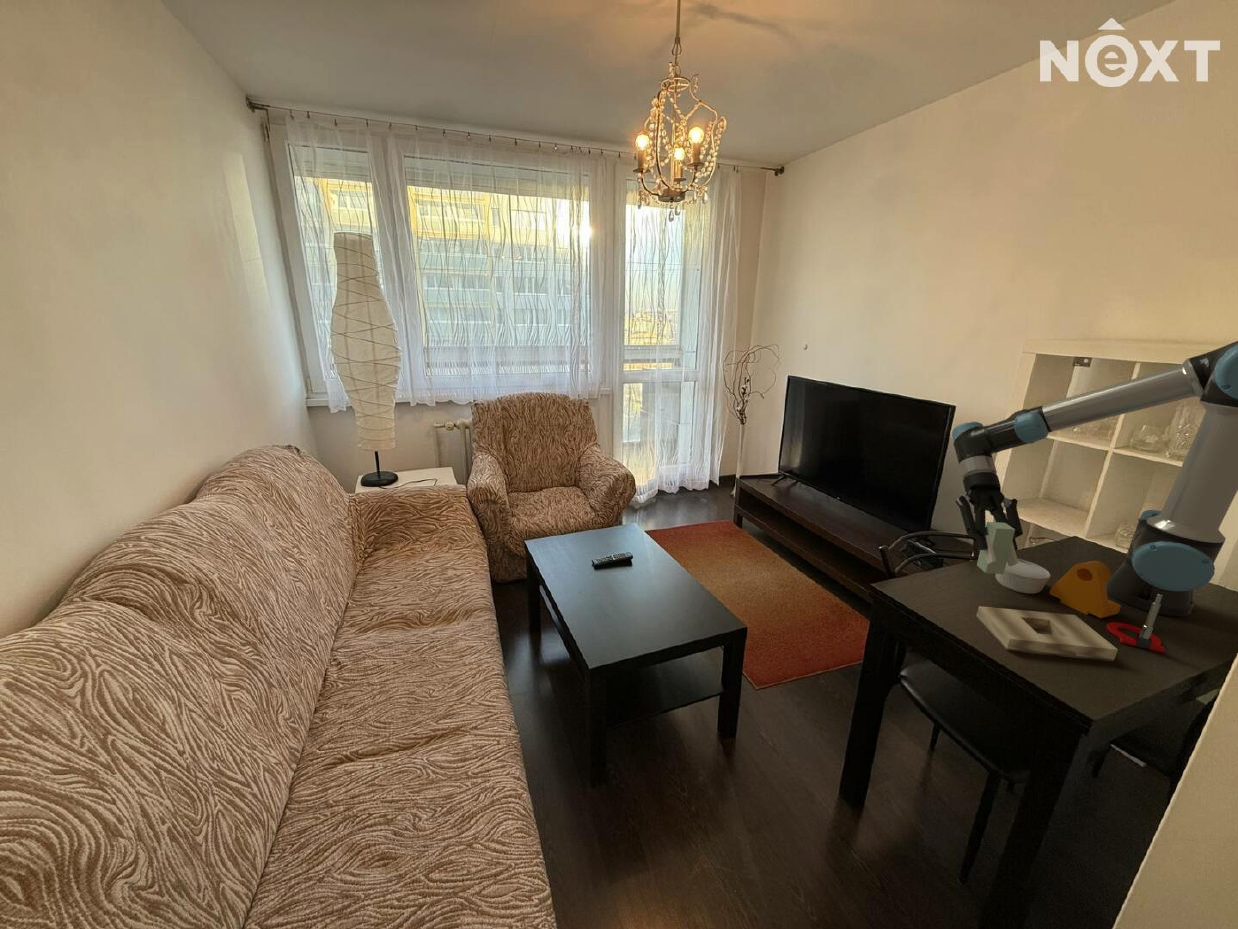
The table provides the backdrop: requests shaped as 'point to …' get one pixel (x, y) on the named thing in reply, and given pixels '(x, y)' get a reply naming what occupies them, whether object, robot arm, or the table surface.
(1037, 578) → the ramekin
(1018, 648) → the block with square hole
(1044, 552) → the table surface
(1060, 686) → the table surface
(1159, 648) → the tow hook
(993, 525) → the peg
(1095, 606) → the bracket
